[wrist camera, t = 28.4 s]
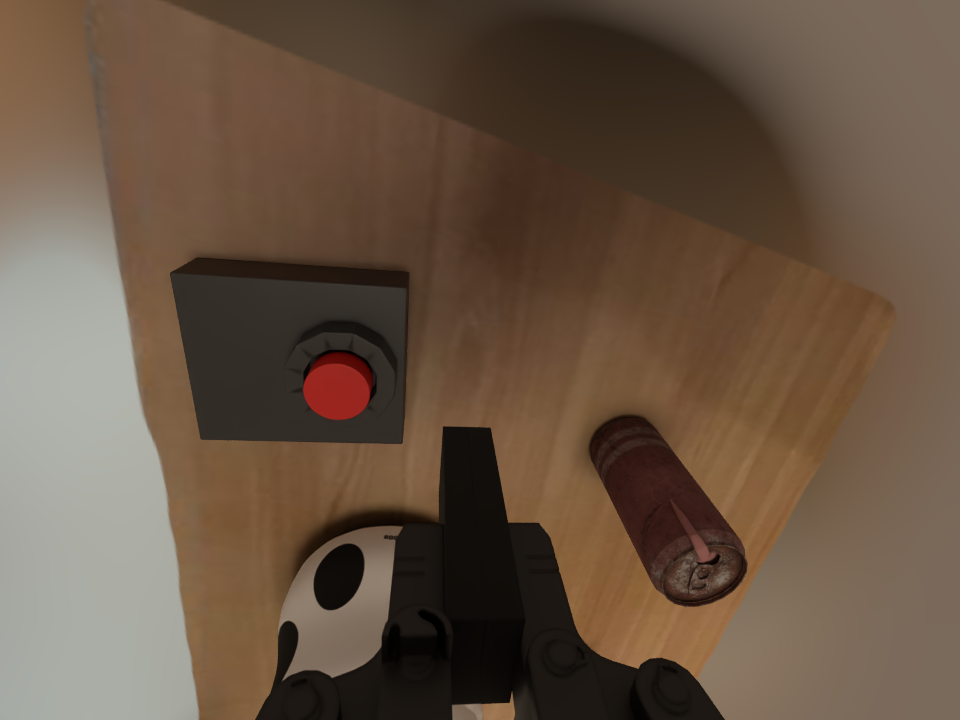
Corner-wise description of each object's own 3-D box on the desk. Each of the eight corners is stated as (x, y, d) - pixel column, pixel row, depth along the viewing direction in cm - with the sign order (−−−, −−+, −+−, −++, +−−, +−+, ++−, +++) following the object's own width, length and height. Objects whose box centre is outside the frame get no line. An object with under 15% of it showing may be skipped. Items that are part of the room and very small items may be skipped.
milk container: (507, 534, 45) (551, 759, 29) (437, 646, 51) (440, 883, 35) (327, 484, 41) (261, 717, 25) (273, 614, 47) (192, 869, 31)
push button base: (409, 271, 33) (406, 296, 28) (404, 417, 39) (401, 459, 34) (196, 257, 32) (153, 281, 27) (220, 411, 37) (188, 455, 32)
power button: (372, 352, 30) (369, 365, 29) (373, 406, 32) (370, 421, 30) (307, 349, 30) (301, 362, 28) (311, 404, 32) (305, 419, 30)
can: (642, 400, 40) (739, 524, 28) (665, 452, 43) (763, 587, 30) (576, 432, 41) (642, 566, 28) (603, 481, 44) (674, 624, 31)
